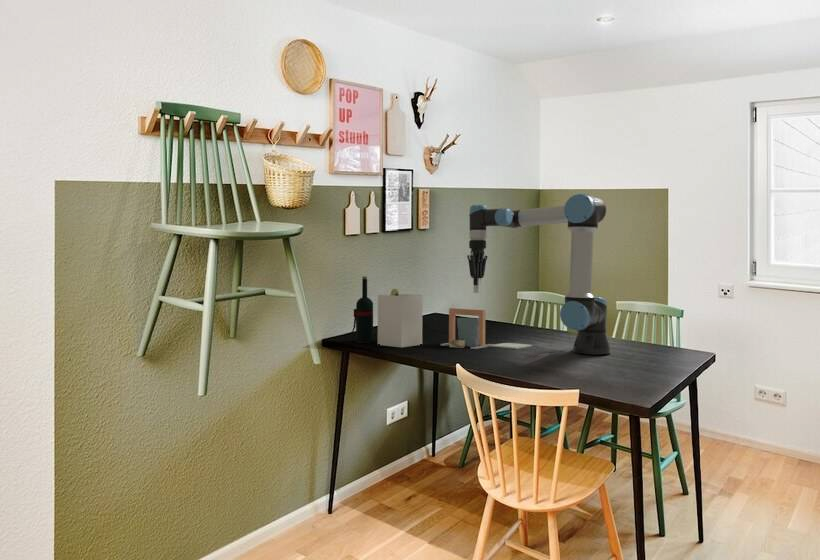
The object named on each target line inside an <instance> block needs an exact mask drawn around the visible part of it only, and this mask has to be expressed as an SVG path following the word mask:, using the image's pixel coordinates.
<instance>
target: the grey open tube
mask: <svg viewBox="0 0 820 560" xmlns="http://www.w3.org/2000/svg"><path fill="white" fill-rule="evenodd" d="M456 323H457V325H456V326H457V337H458V340H465V347H474V346H479V344H478V342H479V317H456Z"/></svg>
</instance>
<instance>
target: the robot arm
mask: <svg viewBox="0 0 820 560" xmlns="http://www.w3.org/2000/svg"><path fill="white" fill-rule="evenodd" d="M487 208H488V207H487V205H485V204H471V206H470V207H469V215H468V217H469V236H468V237H469V242H468V247H469V249H470V254H469V255H466V257H467V260H468V269H469V275H470V278H471V279H473V293H474V294H475V293H476V294H480V293H481V287H482V286H481V285H482V283H481V281H482V279H483V278H484V277H485V274H486V273H485V271H486V263H487V260H488V255H485V249H486V248H487V241H486V239H487V227H505V228H511V229H517V228H522V227H533V226H543V225H545V226H546V225H555V224H556V225H558V224H559V225H560V224H567V229H568V230H569V231H570V233H571V234H570V235H571V236H570V238H571V239H570V261H569V283H568V292H567V293H566V294H564V304H563V305H562V306H561V308H560V311H559V317H560V321H561V322H562V324H563V325H564V326H565V327H566V328H568V329H570V330H574V331H577V333H576V337H575V340H574V344H573V345H572V346H573V347H572V352H573V353H576V354H583V355H584V354H585V355H608V354H611V352H612V351H611V345H610V342H609V339H608V335H607V317H608V316H607V315H608V312H607V310H608V309H607V308H608V305H607V300H606V299H605V298H604V297H600V296H599V297H597V296H595V295H594V294H593V292H592V279H593V275H592V274H593V254H594V253H593V251H594V233H595V232H596V231H597V230H598V226H599V223H601V222H602V221H603V220H604V218H605V216H606V214H607V206H606V204H605V202H604V200H603V199H601V198H600V197H598V196H593V195H590V194H587V193H576V194H574V195H572V196H570V197H569V198H568V199H567V200H566V202H565V203H564V205H556V206H546V207H536V208H527V209H517V210H511V209H509V208H504V207H502V208H501V207H500V208H489V209H487Z"/></svg>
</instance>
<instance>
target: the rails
mask: <svg viewBox="0 0 820 560" xmlns="http://www.w3.org/2000/svg"><path fill="white" fill-rule="evenodd" d="M439 345H440V346H443V347H444V346H445V347H446V346H449V342H445V343H440V344H439ZM491 345H495V344H493V343H487V344H485V345H483V346H482V345H478V346H469V347H470V349H471V350H473V349H474V350H477V349H483V348H488V347H489V348H491Z"/></svg>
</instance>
